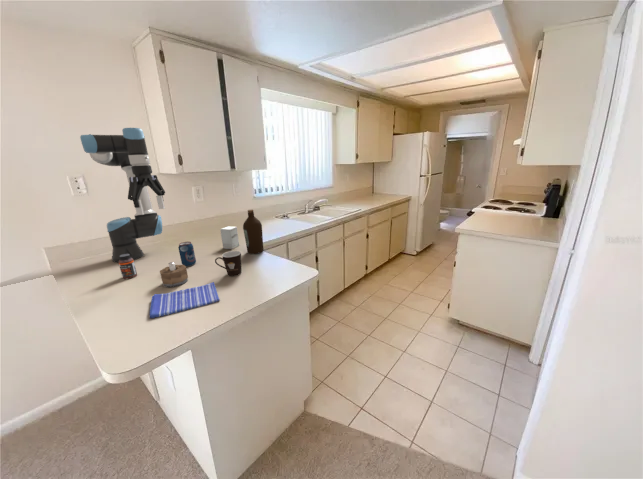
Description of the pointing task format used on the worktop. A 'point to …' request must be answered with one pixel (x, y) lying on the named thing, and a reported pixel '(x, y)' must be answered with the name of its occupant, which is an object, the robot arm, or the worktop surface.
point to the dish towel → (183, 300)
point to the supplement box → (229, 237)
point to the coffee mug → (231, 262)
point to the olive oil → (253, 234)
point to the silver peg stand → (172, 268)
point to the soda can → (187, 254)
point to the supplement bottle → (127, 266)
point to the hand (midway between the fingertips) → (151, 211)
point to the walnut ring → (174, 274)
